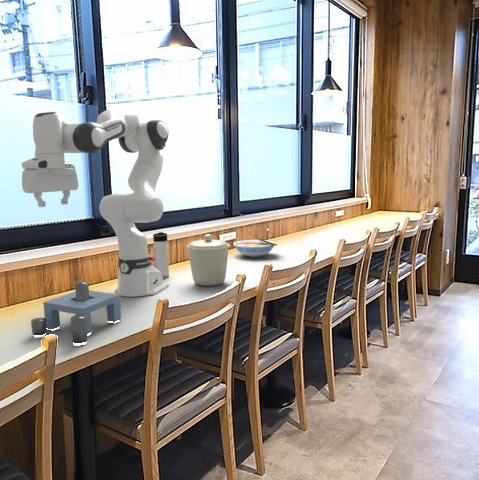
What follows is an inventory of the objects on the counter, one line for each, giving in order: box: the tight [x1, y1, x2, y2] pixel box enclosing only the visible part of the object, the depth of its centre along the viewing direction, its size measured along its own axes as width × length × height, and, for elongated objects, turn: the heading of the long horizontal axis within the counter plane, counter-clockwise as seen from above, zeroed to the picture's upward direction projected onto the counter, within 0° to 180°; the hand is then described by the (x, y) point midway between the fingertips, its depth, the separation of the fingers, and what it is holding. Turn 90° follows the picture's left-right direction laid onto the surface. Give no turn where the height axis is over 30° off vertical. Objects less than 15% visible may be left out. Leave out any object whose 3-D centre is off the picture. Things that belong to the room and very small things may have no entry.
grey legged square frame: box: [43, 289, 122, 334], centre depth 147 cm, size 16×16×9 cm
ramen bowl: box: [233, 238, 277, 258], centre depth 253 cm, size 25×23×8 cm
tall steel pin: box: [74, 280, 90, 302], centre depth 146 cm, size 4×4×14 cm
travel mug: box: [152, 231, 170, 280], centre depth 208 cm, size 6×7×20 cm
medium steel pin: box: [70, 314, 88, 343], centre depth 132 cm, size 4×4×8 cm
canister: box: [186, 233, 231, 287], centre depth 196 cm, size 18×18×21 cm
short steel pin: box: [30, 317, 48, 335], centre depth 139 cm, size 4×4×5 cm
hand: (53, 205), depth 154 cm, fingers open, 8 cm apart
